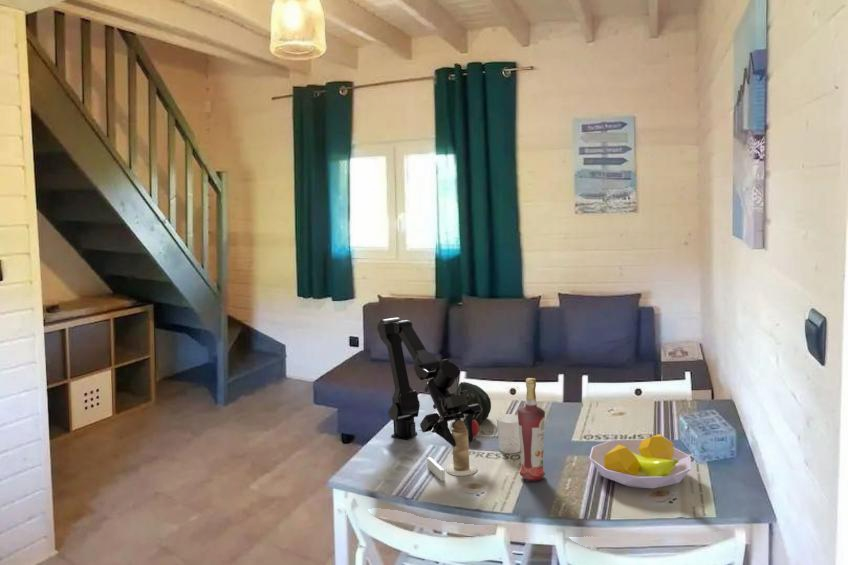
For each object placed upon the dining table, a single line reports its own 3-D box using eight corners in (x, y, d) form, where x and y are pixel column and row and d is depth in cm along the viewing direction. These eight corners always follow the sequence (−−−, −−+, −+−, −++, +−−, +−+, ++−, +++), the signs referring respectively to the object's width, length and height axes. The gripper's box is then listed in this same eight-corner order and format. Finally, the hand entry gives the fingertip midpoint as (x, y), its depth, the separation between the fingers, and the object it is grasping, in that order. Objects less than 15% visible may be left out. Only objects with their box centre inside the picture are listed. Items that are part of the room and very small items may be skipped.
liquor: (539, 485, 175) (538, 384, 171) (514, 480, 179) (512, 381, 175) (549, 475, 181) (548, 377, 177) (525, 470, 185) (523, 374, 181)
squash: (505, 404, 227) (478, 370, 231) (485, 418, 215) (457, 382, 219) (479, 425, 235) (453, 391, 238) (459, 440, 222) (432, 404, 226)
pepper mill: (452, 470, 185) (450, 422, 184) (454, 464, 190) (452, 417, 188) (468, 470, 184) (466, 422, 183) (470, 464, 189) (468, 417, 188)
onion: (478, 442, 207) (477, 418, 206) (460, 442, 208) (459, 418, 207) (480, 436, 213) (479, 412, 212) (462, 435, 214) (462, 412, 213)
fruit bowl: (579, 459, 191) (579, 422, 190) (673, 457, 190) (673, 420, 189) (602, 504, 163) (602, 460, 162) (712, 502, 162) (713, 458, 161)
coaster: (440, 472, 186) (440, 470, 186) (455, 461, 193) (455, 459, 193) (468, 478, 181) (468, 477, 181) (482, 466, 188) (482, 465, 188)
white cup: (525, 446, 203) (524, 415, 202) (520, 455, 196) (520, 423, 194) (500, 443, 206) (499, 413, 204) (494, 453, 198) (494, 421, 197)
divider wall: (427, 467, 189) (427, 457, 189) (431, 467, 190) (430, 457, 189) (441, 480, 180) (441, 470, 180) (444, 480, 180) (444, 469, 180)
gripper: (423, 388, 183) (446, 437, 175) (478, 376, 192) (501, 423, 184) (410, 407, 190) (431, 456, 182) (463, 396, 200) (485, 441, 192)
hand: (463, 443), depth 185 cm, fingers open, 6 cm apart
